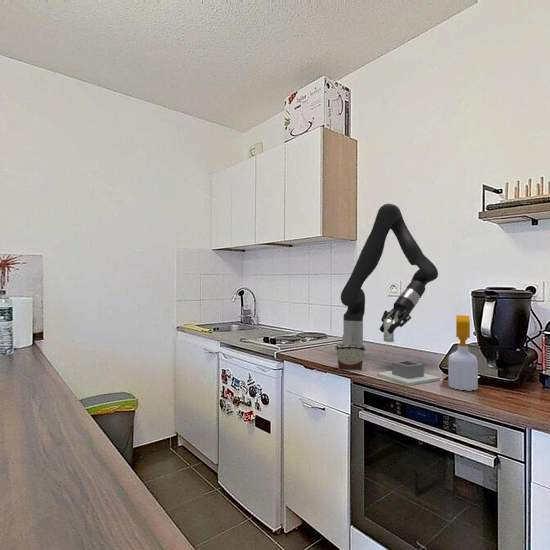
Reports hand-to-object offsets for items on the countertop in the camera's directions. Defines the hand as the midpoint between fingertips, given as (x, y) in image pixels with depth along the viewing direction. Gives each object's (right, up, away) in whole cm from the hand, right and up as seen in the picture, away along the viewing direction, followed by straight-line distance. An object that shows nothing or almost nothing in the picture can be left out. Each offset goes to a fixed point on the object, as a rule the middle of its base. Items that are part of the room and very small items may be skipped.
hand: (385, 331), depth 158 cm
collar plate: (+5, -15, -14) cm, 21 cm away
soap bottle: (+19, -16, -26) cm, 36 cm away
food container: (-14, -16, +1) cm, 21 cm away
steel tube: (+2, -4, +1) cm, 5 cm away
